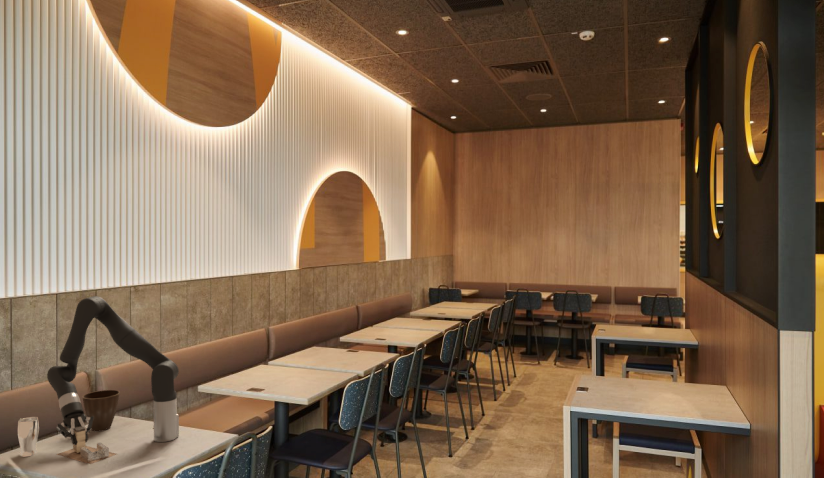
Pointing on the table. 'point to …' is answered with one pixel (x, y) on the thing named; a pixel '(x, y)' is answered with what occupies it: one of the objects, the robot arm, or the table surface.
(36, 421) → the beer glass
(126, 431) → the table surface
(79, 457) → the board
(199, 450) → the table surface
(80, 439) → the grey-topped wooden block
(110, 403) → the plant pot
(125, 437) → the table surface
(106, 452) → the clip
